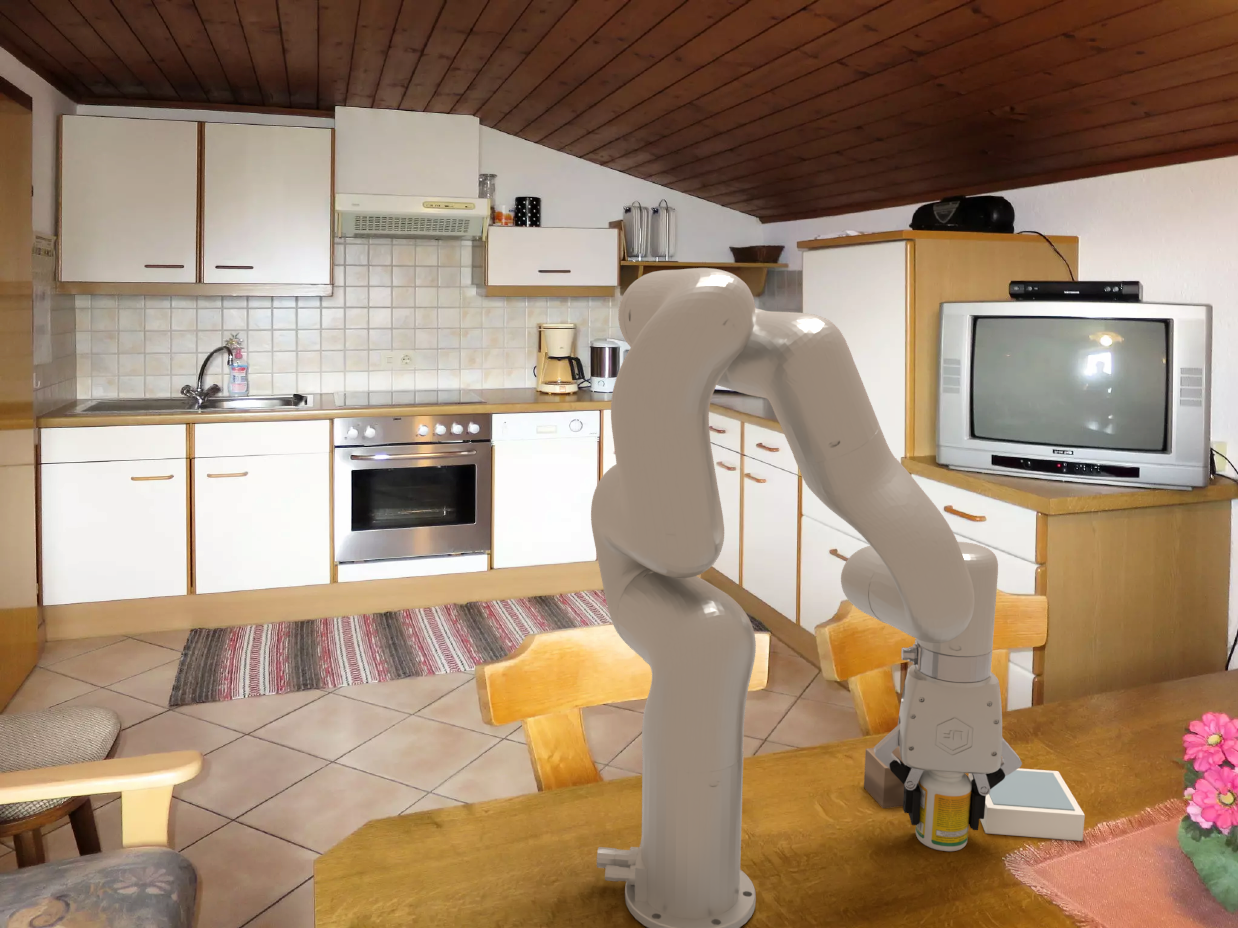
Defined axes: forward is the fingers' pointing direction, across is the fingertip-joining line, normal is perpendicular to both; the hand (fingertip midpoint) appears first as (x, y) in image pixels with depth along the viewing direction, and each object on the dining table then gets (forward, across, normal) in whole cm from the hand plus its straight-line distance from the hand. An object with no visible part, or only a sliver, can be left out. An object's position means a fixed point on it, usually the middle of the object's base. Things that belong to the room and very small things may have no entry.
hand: (942, 819), depth 107 cm
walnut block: (+2, -4, +9) cm, 10 cm away
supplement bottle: (+2, 0, 0) cm, 2 cm away
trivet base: (+2, +10, +7) cm, 12 cm away
